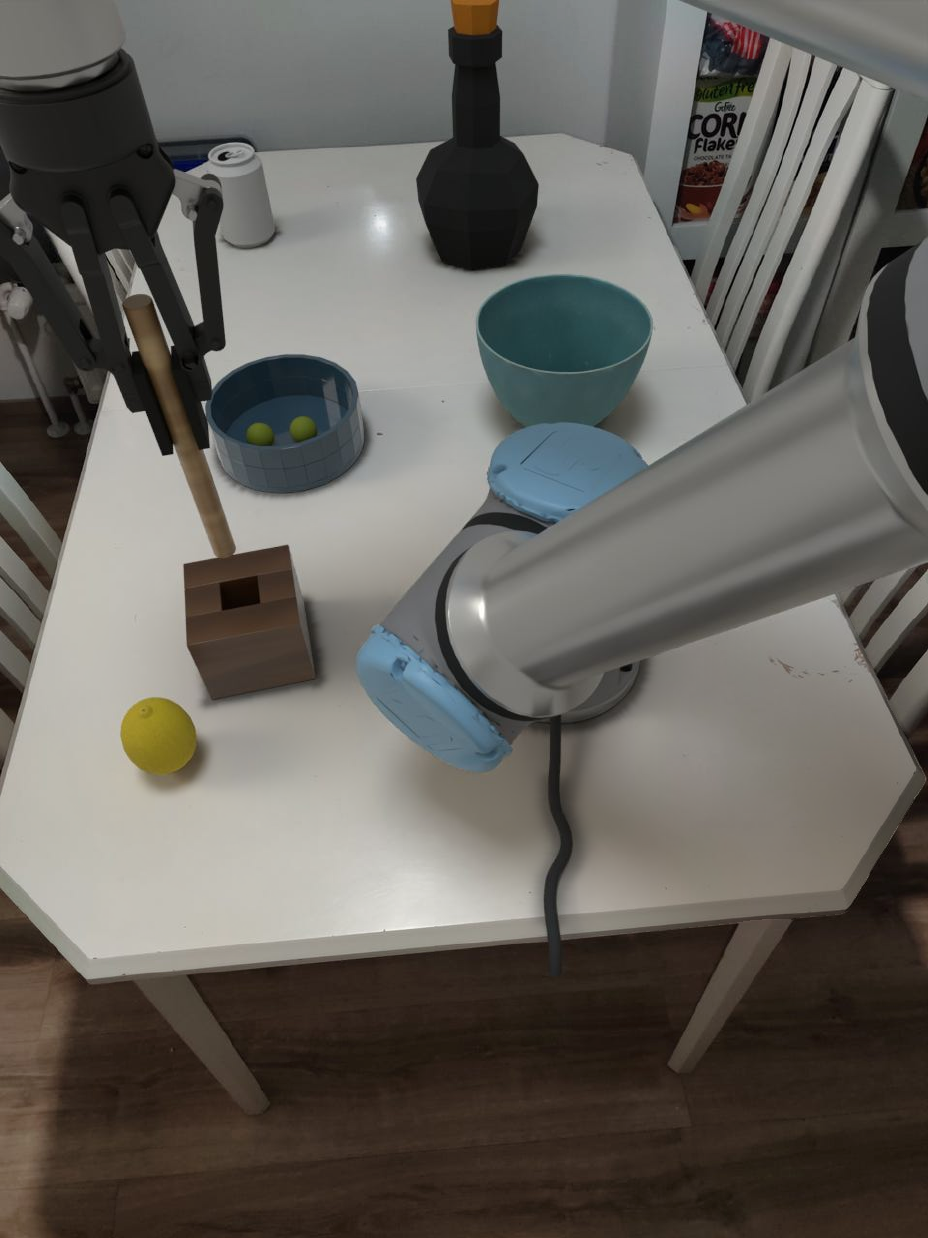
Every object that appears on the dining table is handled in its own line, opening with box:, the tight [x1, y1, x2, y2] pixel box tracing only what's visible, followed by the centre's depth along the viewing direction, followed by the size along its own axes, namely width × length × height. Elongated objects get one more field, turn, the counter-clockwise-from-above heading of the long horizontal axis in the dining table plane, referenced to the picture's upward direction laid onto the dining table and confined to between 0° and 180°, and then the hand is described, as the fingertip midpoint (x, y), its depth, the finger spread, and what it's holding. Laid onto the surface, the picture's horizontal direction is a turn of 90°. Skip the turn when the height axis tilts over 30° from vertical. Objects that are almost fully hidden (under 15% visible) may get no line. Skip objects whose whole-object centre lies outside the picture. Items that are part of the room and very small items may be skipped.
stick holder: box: [182, 544, 316, 700], centre depth 76 cm, size 9×9×8 cm
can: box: [205, 142, 276, 249], centre depth 121 cm, size 8×8×12 cm
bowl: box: [204, 353, 365, 494], centre depth 95 cm, size 16×16×6 cm
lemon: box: [119, 696, 198, 776], centre depth 69 cm, size 6×6×8 cm
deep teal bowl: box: [475, 273, 654, 428], centre depth 94 cm, size 18×18×12 cm
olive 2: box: [290, 416, 317, 443], centre depth 95 cm, size 3×3×3 cm
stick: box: [121, 293, 237, 558], centre depth 61 cm, size 2×2×22 cm
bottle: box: [415, 0, 540, 272], centre depth 110 cm, size 16×16×30 cm
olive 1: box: [246, 423, 274, 446], centre depth 95 cm, size 3×3×3 cm
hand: (185, 439), depth 60 cm, fingers closed on stick, 2 cm apart
